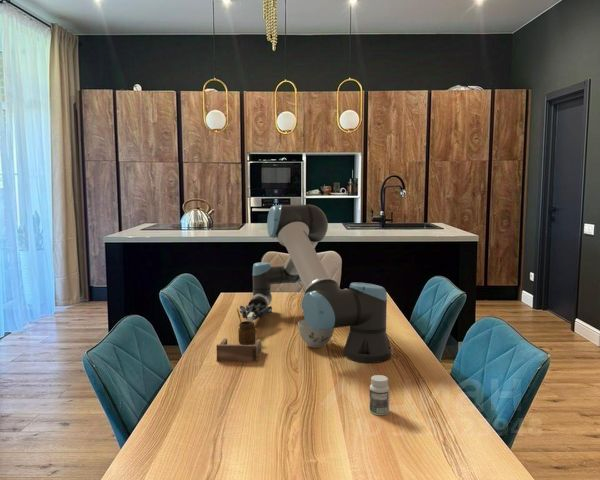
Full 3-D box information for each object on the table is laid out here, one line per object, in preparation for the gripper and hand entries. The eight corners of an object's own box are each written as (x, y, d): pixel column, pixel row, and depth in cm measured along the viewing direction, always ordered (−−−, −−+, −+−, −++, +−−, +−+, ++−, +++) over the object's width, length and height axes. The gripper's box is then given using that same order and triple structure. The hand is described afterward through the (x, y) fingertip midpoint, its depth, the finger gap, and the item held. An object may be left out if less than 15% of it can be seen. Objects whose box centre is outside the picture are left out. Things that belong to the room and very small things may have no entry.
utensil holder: (254, 345, 174) (254, 311, 173) (236, 345, 175) (235, 311, 173) (256, 340, 180) (256, 306, 179) (238, 340, 180) (238, 306, 179)
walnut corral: (223, 350, 169) (223, 335, 169) (260, 350, 169) (260, 336, 168) (216, 361, 159) (216, 345, 158) (256, 361, 158) (256, 346, 158)
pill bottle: (375, 405, 127) (376, 372, 126) (392, 410, 124) (393, 377, 123) (365, 412, 123) (366, 378, 122) (382, 417, 120) (383, 383, 119)
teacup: (333, 352, 167) (333, 328, 166) (295, 350, 169) (295, 327, 168) (335, 338, 182) (335, 316, 181) (301, 337, 184) (301, 315, 183)
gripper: (274, 314, 207) (267, 330, 183) (242, 313, 208) (231, 330, 184) (274, 296, 206) (267, 310, 183) (242, 295, 207) (231, 309, 183)
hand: (249, 320), depth 183 cm, fingers closed
